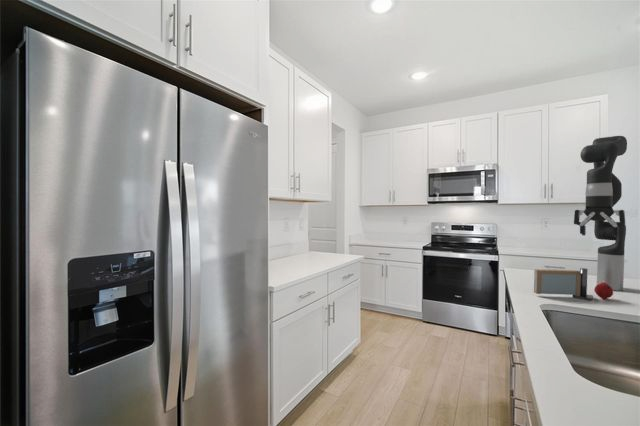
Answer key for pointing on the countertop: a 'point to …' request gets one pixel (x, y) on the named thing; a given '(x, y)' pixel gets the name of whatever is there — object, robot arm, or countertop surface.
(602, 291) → the onion
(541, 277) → the wooden picture frame
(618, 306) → the countertop surface
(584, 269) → the post
